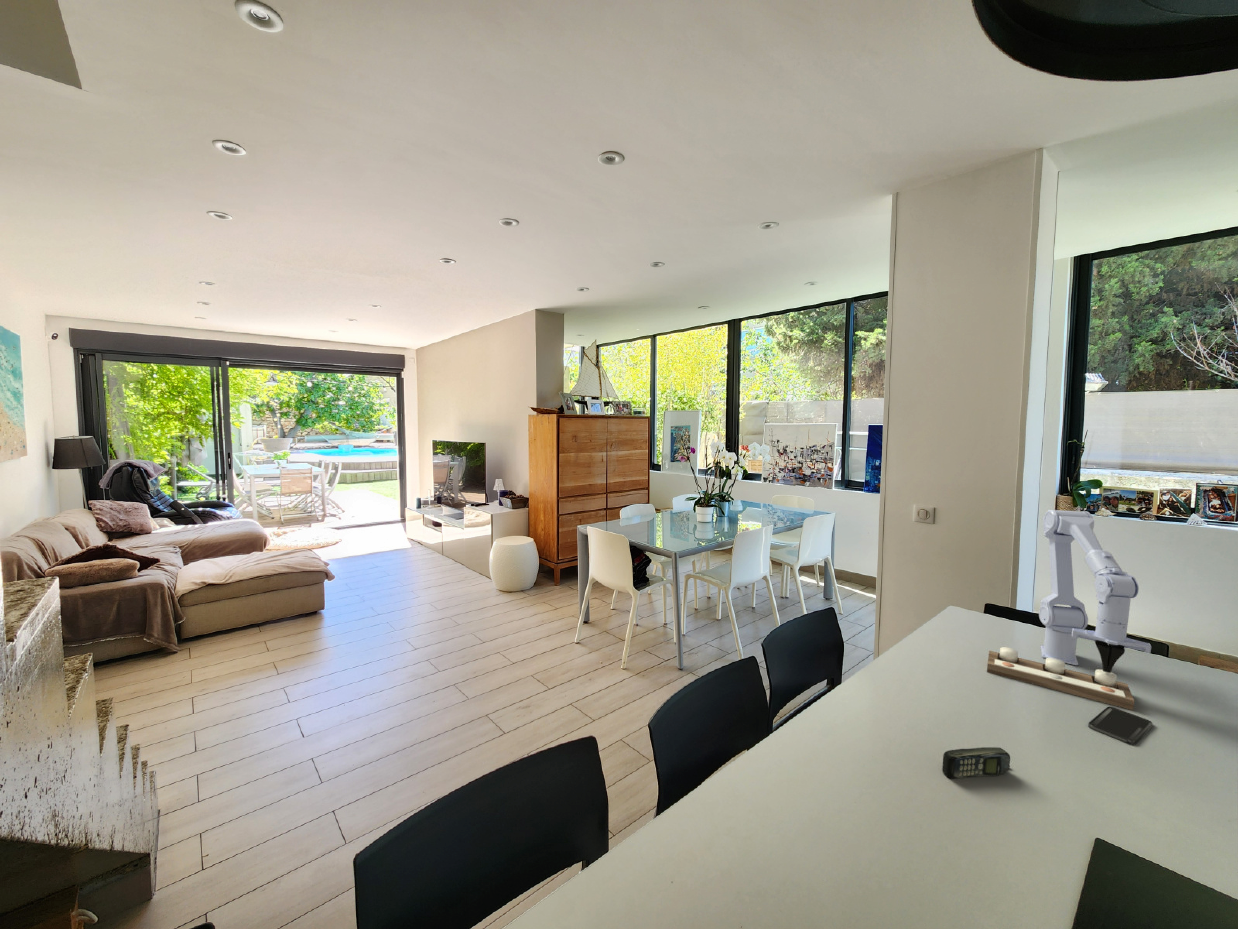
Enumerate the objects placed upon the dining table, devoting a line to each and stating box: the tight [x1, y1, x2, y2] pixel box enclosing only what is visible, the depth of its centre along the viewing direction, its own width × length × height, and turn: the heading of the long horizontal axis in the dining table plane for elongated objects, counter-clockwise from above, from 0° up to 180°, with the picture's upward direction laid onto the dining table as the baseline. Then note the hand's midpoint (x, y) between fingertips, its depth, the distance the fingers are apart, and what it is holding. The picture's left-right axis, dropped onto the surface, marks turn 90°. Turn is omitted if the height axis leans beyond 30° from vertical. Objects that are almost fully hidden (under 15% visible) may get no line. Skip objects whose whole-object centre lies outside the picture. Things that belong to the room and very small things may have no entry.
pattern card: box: [994, 659, 1125, 698], centre depth 134 cm, size 4×26×1 cm, turn 52°
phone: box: [1087, 706, 1154, 746], centre depth 117 cm, size 8×1×15 cm
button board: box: [986, 650, 1135, 711], centre depth 136 cm, size 10×29×2 cm, turn 52°
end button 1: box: [1094, 669, 1117, 687], centre depth 131 cm, size 4×4×2 cm
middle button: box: [1044, 658, 1066, 674], centre depth 137 cm, size 4×4×2 cm
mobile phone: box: [941, 746, 1011, 779], centre depth 101 cm, size 5×3×15 cm
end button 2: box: [999, 646, 1019, 662], centre depth 143 cm, size 4×4×2 cm
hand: (1106, 670), depth 131 cm, fingers closed
